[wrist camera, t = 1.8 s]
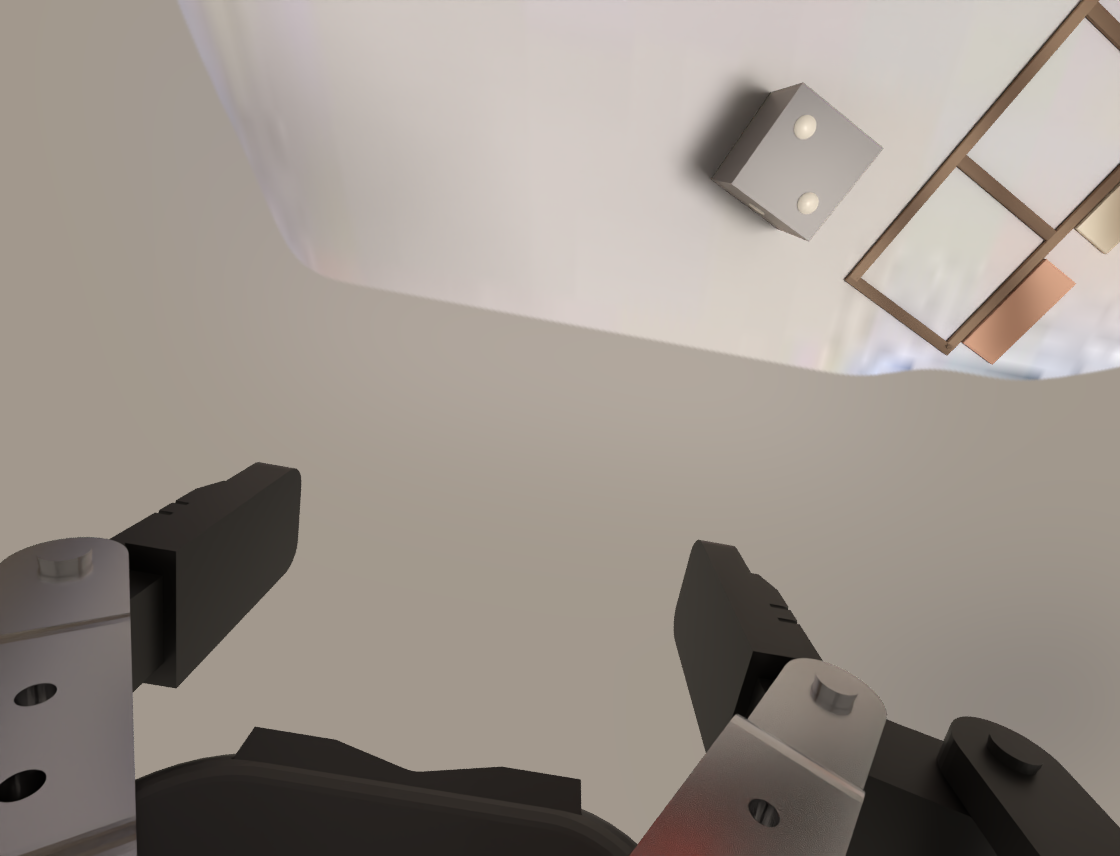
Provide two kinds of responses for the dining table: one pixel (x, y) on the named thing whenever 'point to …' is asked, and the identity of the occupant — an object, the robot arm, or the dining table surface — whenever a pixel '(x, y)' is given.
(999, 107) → the game strip
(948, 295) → the dining table surface
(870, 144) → the die
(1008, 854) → the robot arm
